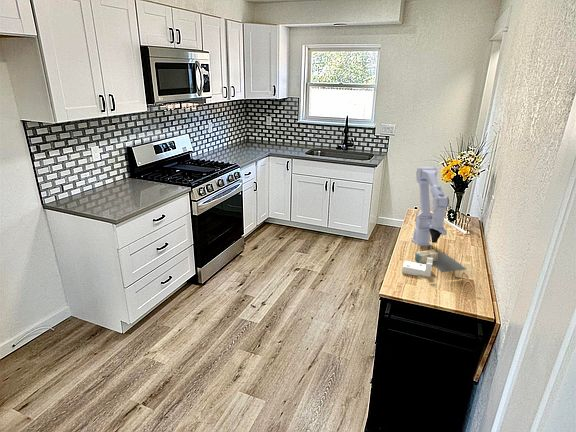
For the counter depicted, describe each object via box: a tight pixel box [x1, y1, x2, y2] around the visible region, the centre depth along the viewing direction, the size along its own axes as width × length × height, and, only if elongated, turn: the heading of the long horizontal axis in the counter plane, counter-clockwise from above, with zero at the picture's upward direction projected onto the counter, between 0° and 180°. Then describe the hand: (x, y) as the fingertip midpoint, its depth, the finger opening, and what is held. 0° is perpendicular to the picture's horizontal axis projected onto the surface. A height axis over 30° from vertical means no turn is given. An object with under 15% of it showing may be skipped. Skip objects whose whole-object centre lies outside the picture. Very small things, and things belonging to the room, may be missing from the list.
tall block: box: [414, 249, 439, 264], centre depth 191 cm, size 4×4×10 cm
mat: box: [432, 252, 467, 273], centre depth 191 cm, size 19×14×1 cm
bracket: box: [401, 257, 433, 278], centre depth 180 cm, size 13×7×8 cm, turn 66°
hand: (434, 242), depth 197 cm, fingers closed
